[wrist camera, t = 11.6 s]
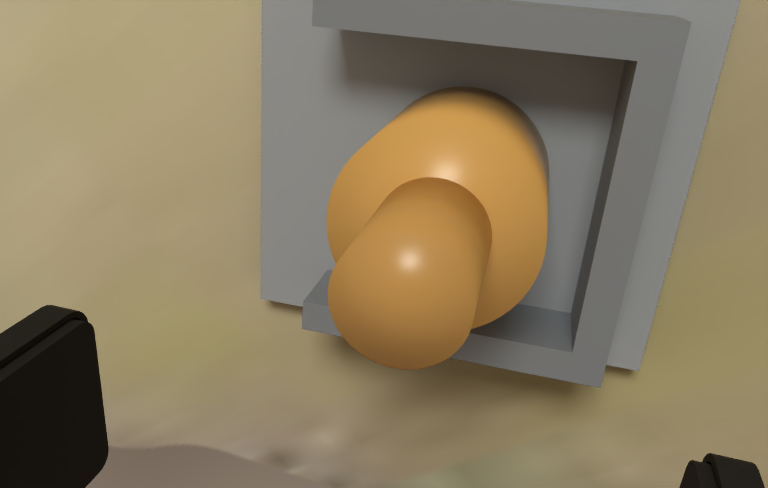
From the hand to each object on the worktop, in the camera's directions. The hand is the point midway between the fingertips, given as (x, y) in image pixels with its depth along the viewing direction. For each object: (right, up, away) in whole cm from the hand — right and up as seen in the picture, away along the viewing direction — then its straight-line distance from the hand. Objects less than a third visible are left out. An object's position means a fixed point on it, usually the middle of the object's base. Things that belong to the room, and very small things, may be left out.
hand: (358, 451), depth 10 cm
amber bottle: (+3, +6, +15) cm, 16 cm away
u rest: (+3, +6, +16) cm, 17 cm away
